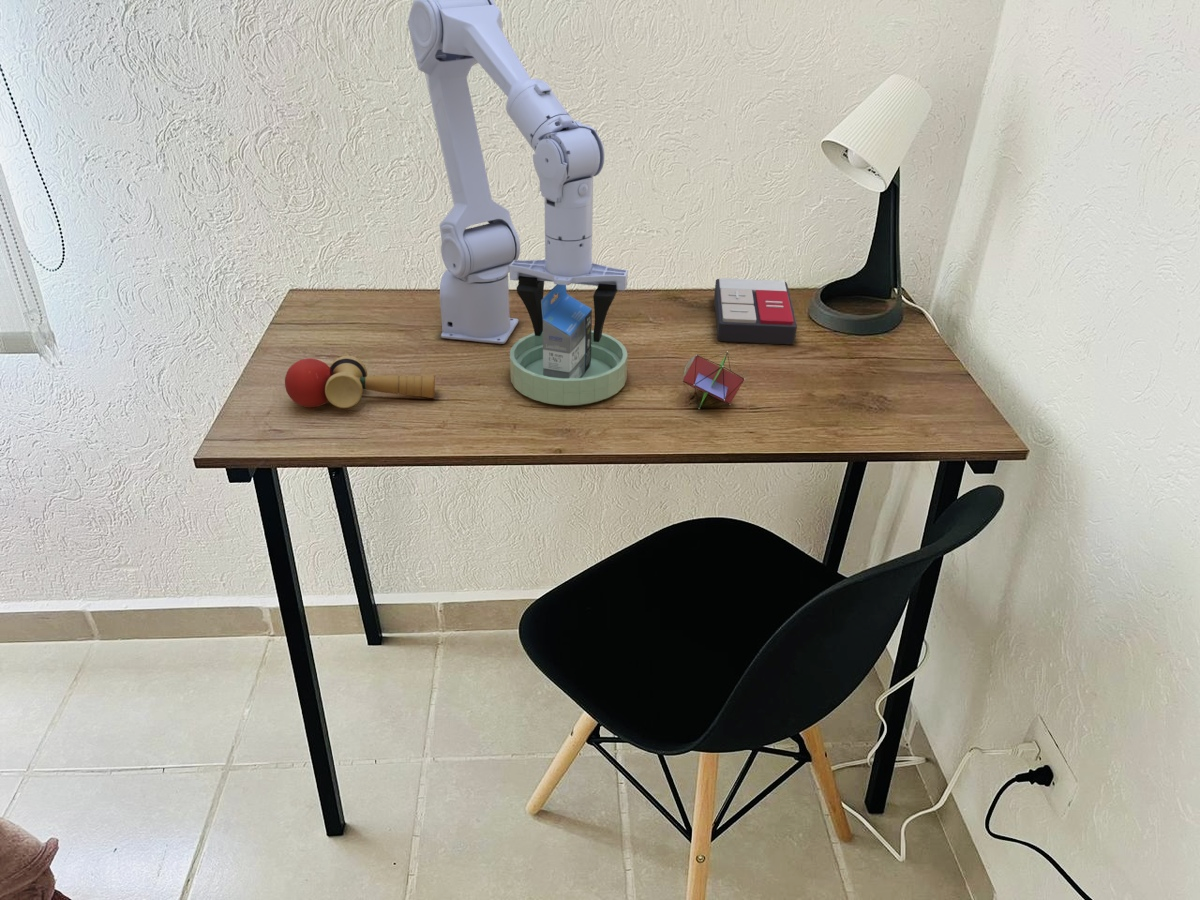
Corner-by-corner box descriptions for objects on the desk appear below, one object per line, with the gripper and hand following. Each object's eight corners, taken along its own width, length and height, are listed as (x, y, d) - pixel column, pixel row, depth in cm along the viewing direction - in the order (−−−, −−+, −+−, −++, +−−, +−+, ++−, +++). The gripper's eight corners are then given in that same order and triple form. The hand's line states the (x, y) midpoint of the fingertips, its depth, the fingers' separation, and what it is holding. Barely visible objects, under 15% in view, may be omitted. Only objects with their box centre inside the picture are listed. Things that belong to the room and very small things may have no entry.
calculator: (720, 318, 129) (716, 273, 141) (717, 345, 132) (713, 299, 144) (798, 322, 129) (787, 276, 141) (794, 348, 131) (783, 302, 143)
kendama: (432, 388, 121) (289, 380, 117) (435, 349, 117) (287, 339, 112) (433, 426, 115) (282, 419, 111) (436, 387, 111) (280, 378, 107)
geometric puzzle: (757, 380, 117) (724, 330, 114) (751, 406, 111) (716, 353, 109) (710, 404, 120) (677, 355, 118) (702, 429, 115) (667, 379, 112)
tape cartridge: (570, 395, 116) (570, 305, 109) (541, 390, 117) (539, 300, 110) (592, 365, 123) (593, 278, 117) (565, 360, 124) (564, 274, 118)
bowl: (497, 401, 115) (495, 373, 113) (527, 349, 128) (526, 323, 126) (615, 414, 113) (616, 386, 111) (634, 360, 126) (635, 333, 124)
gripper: (501, 239, 108) (505, 343, 115) (622, 249, 106) (618, 355, 113) (516, 220, 113) (519, 320, 121) (631, 229, 111) (627, 331, 119)
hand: (568, 335), depth 117 cm, fingers open, 7 cm apart
